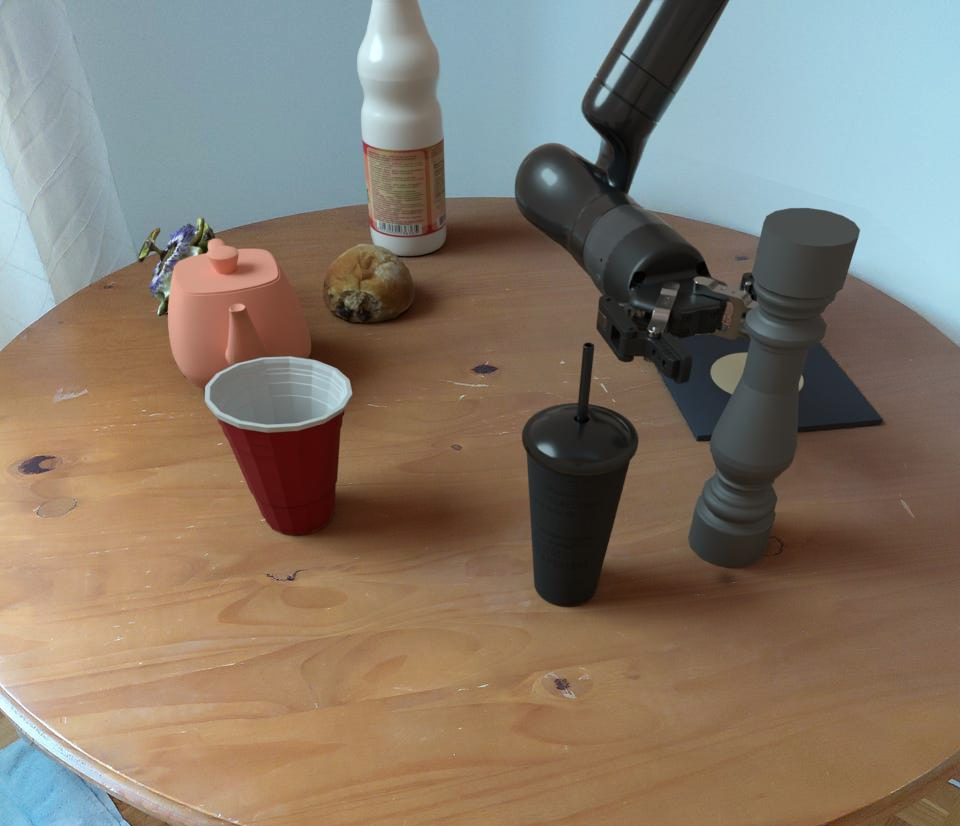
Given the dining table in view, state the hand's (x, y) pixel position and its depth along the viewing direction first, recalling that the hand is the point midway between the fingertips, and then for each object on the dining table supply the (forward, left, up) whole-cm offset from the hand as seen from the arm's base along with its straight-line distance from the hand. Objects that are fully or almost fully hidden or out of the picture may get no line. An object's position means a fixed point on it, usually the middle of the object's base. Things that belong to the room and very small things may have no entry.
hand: (739, 362), depth 64 cm
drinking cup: (+13, +7, -14) cm, 21 cm away
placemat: (-12, -19, -14) cm, 27 cm away
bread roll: (+25, -41, -14) cm, 50 cm away
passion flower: (+43, -42, -14) cm, 62 cm away
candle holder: (-1, +4, -14) cm, 15 cm away
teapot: (+38, -28, -14) cm, 50 cm away
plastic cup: (+33, -5, -14) cm, 37 cm away
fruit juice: (+19, -57, -14) cm, 62 cm away
